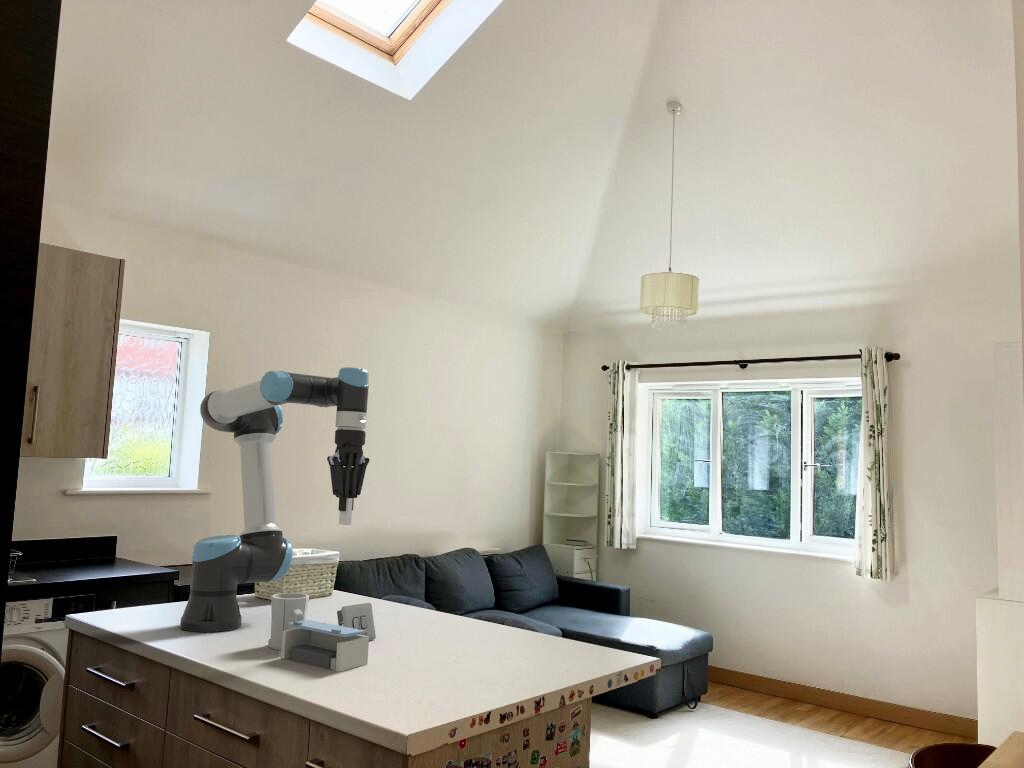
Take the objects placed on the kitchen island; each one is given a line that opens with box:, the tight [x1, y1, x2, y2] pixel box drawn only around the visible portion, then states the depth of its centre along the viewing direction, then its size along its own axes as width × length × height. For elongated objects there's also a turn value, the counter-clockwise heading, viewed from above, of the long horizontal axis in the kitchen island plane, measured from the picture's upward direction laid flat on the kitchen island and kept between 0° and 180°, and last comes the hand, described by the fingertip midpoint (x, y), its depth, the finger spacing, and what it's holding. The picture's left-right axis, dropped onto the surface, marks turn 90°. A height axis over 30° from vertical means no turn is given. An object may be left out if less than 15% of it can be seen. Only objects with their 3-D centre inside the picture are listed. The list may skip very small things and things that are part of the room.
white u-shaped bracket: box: [280, 628, 370, 673], centre depth 180 cm, size 18×9×6 cm, turn 58°
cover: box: [287, 619, 368, 637], centre depth 181 cm, size 18×8×2 cm, turn 58°
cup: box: [267, 593, 310, 651], centre depth 193 cm, size 10×9×12 cm
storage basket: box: [254, 547, 341, 601], centre depth 262 cm, size 24×16×15 cm
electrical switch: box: [336, 602, 377, 642], centre depth 202 cm, size 9×5×9 cm, turn 141°
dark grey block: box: [289, 644, 337, 671], centre depth 178 cm, size 13×4×3 cm, turn 58°
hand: (344, 524), depth 198 cm, fingers closed
